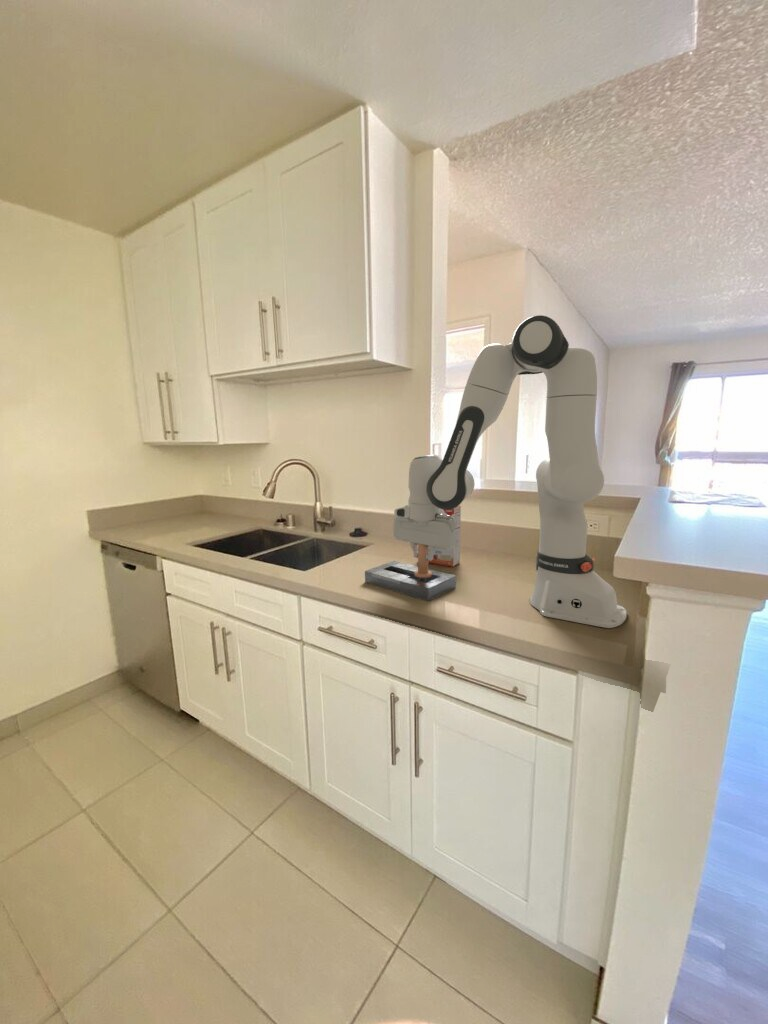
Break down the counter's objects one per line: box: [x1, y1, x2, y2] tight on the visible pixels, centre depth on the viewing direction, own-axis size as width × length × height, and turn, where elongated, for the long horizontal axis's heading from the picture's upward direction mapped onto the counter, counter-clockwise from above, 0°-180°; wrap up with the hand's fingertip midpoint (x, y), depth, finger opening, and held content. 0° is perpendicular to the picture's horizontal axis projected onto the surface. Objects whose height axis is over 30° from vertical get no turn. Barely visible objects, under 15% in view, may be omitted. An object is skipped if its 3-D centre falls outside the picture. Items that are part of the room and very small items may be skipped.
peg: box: [415, 544, 432, 578], centre depth 121 cm, size 5×5×11 cm
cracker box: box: [428, 505, 462, 568], centre depth 146 cm, size 14×6×21 cm, turn 55°
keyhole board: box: [364, 560, 457, 602], centre depth 126 cm, size 24×14×4 cm, turn 48°
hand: (423, 558), depth 121 cm, fingers closed on peg, 3 cm apart
